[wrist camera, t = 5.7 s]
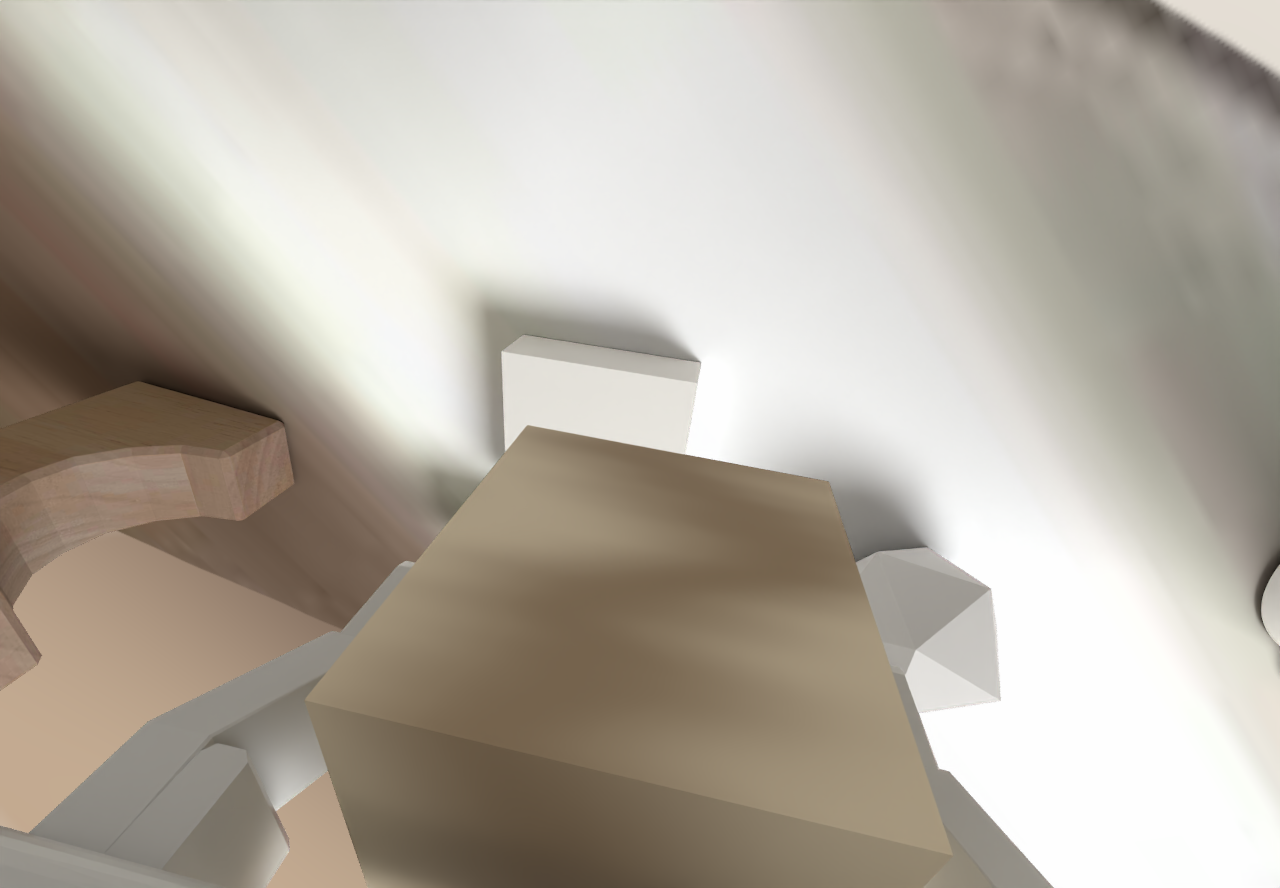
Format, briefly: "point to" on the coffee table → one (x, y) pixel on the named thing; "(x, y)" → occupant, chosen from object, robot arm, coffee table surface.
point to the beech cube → (628, 690)
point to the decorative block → (122, 481)
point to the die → (934, 627)
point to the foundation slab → (598, 393)
